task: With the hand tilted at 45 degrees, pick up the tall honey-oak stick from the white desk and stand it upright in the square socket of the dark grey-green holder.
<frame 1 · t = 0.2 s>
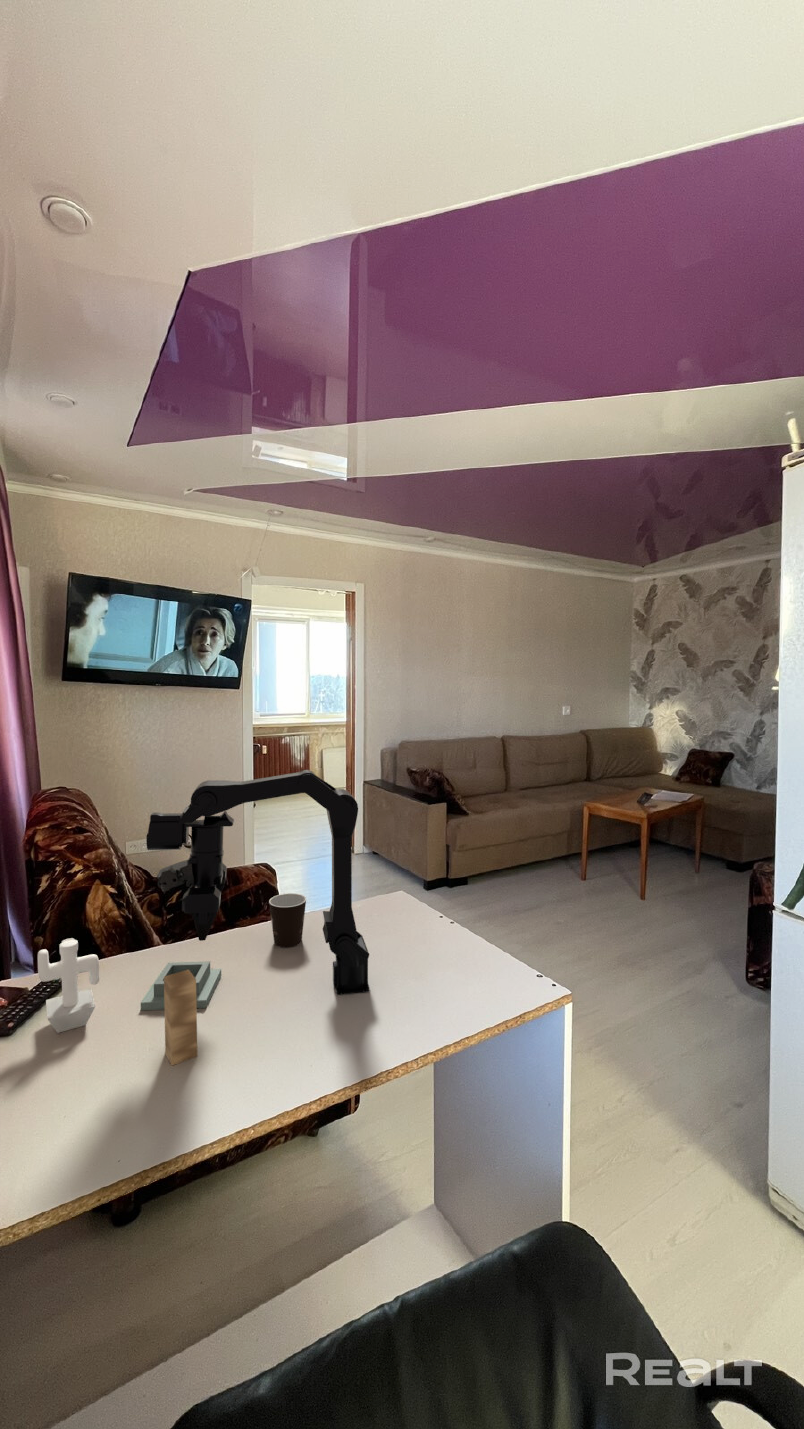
hand: (205, 929, 109), 14 cm above the table, tool pointing down, fingers open, 9 cm apart
brown paper cup: (290, 939, 137), on the table
oak stick: (181, 1054, 95), on the table
socket holder: (183, 991, 114), on the table
figurine: (71, 1023, 103), on the table
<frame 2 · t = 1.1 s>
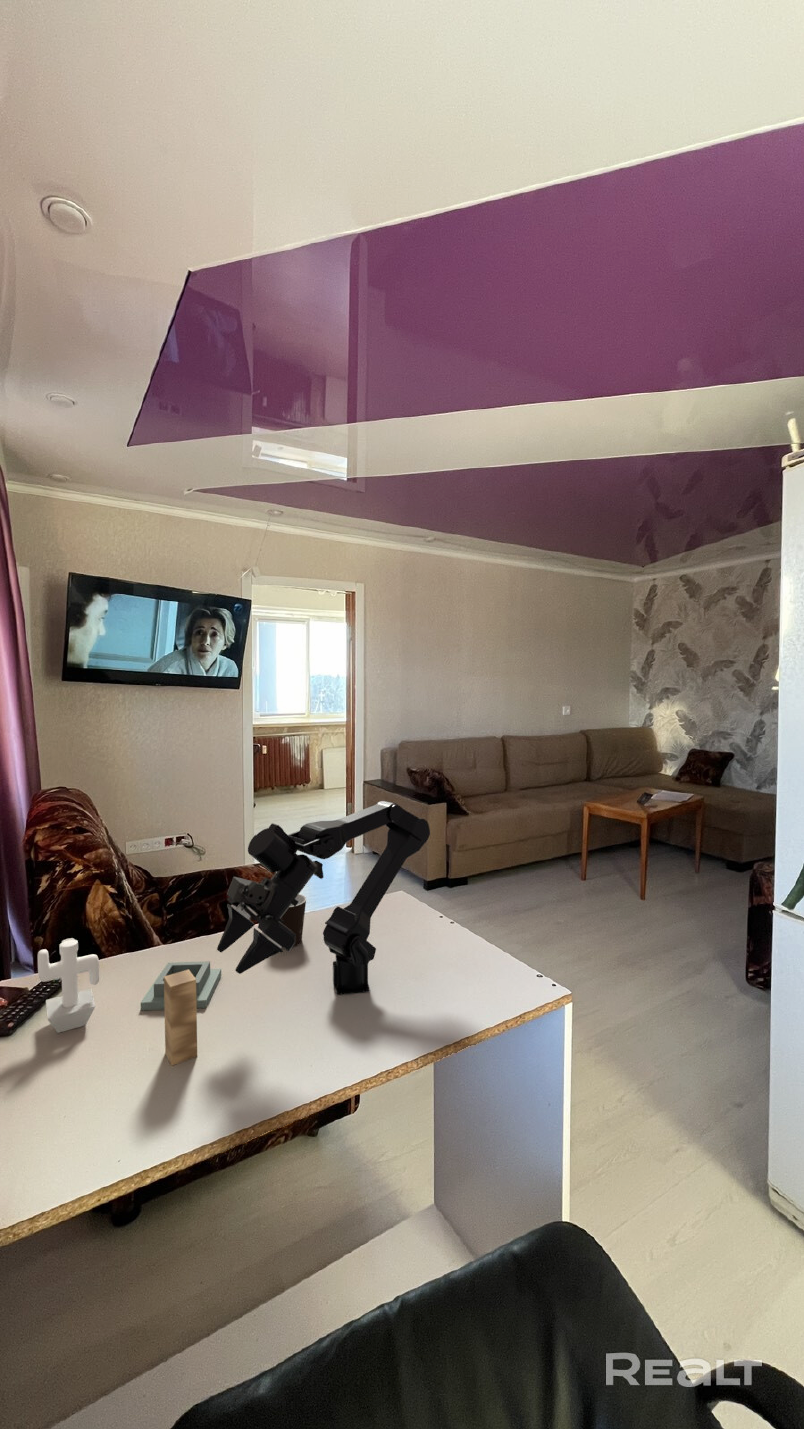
hand: (227, 961, 99), 13 cm above the table, tool tilted 45°, fingers open, 9 cm apart
nothing on the table moved.
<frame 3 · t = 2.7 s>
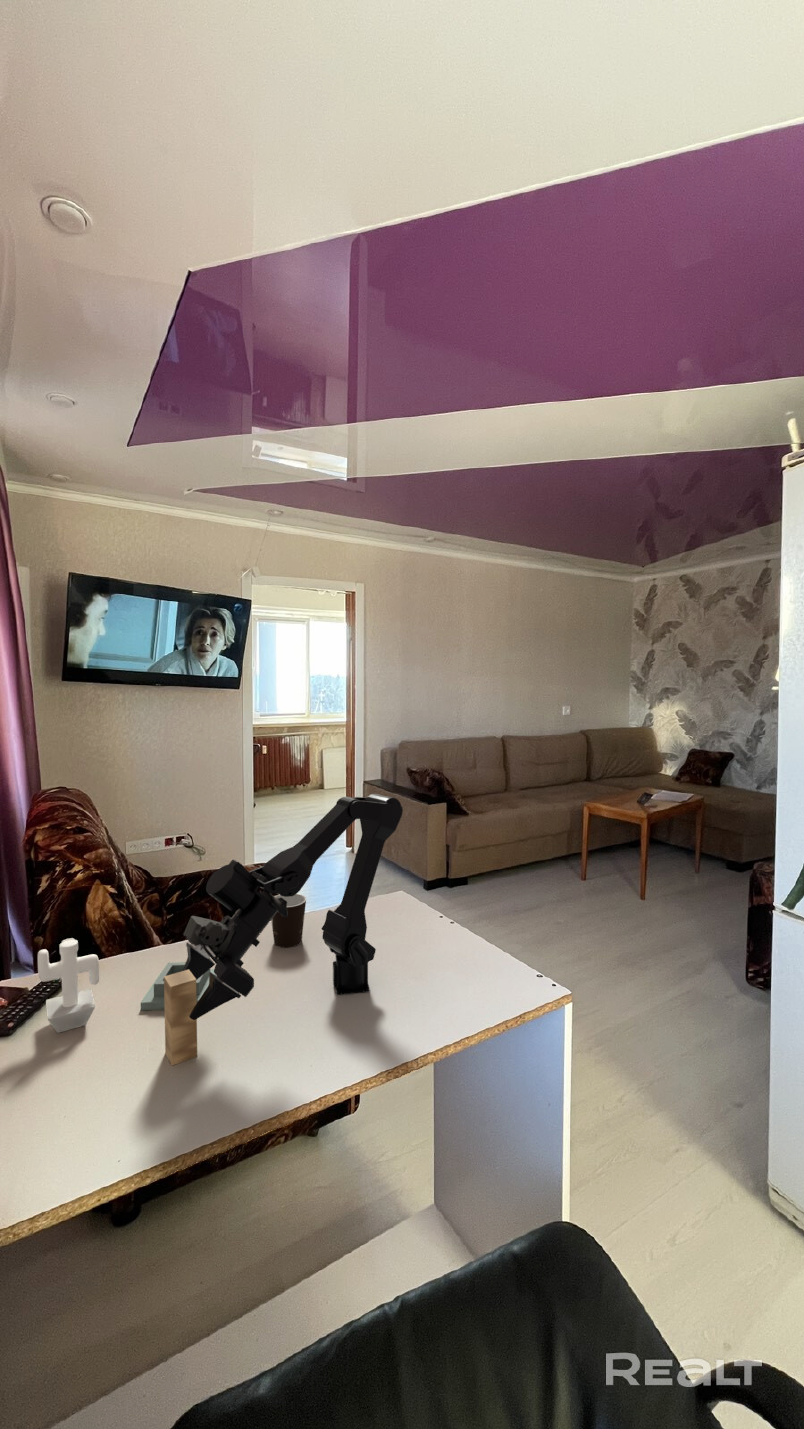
hand: (183, 1005, 94), 8 cm above the table, tool tilted 45°, fingers open, 9 cm apart
nothing on the table moved.
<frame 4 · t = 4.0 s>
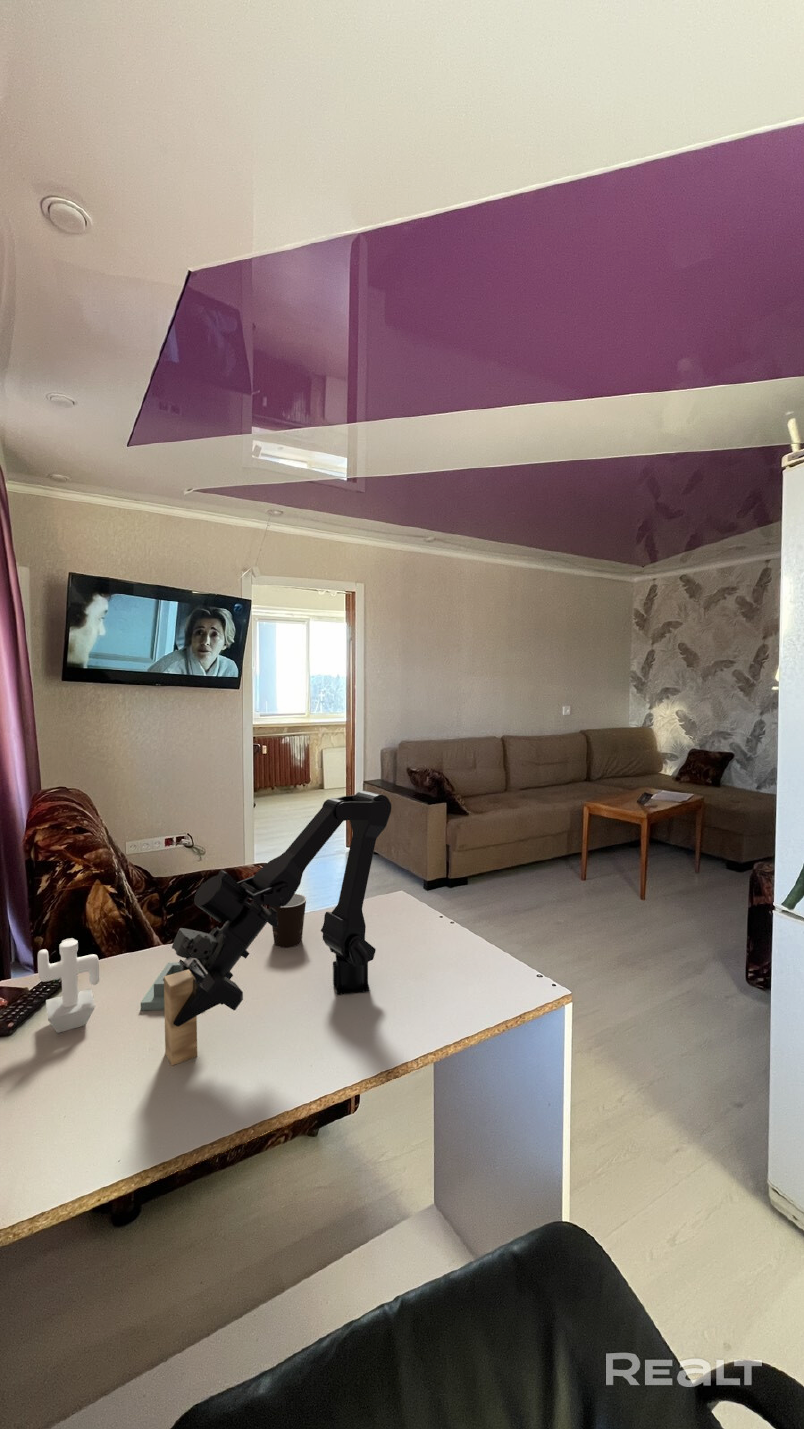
hand: (171, 1018, 93), 7 cm above the table, tool tilted 45°, fingers closed on oak stick, 4 cm apart
oak stick: (181, 1054, 95), on the table, touching gripper
everything else where it was.
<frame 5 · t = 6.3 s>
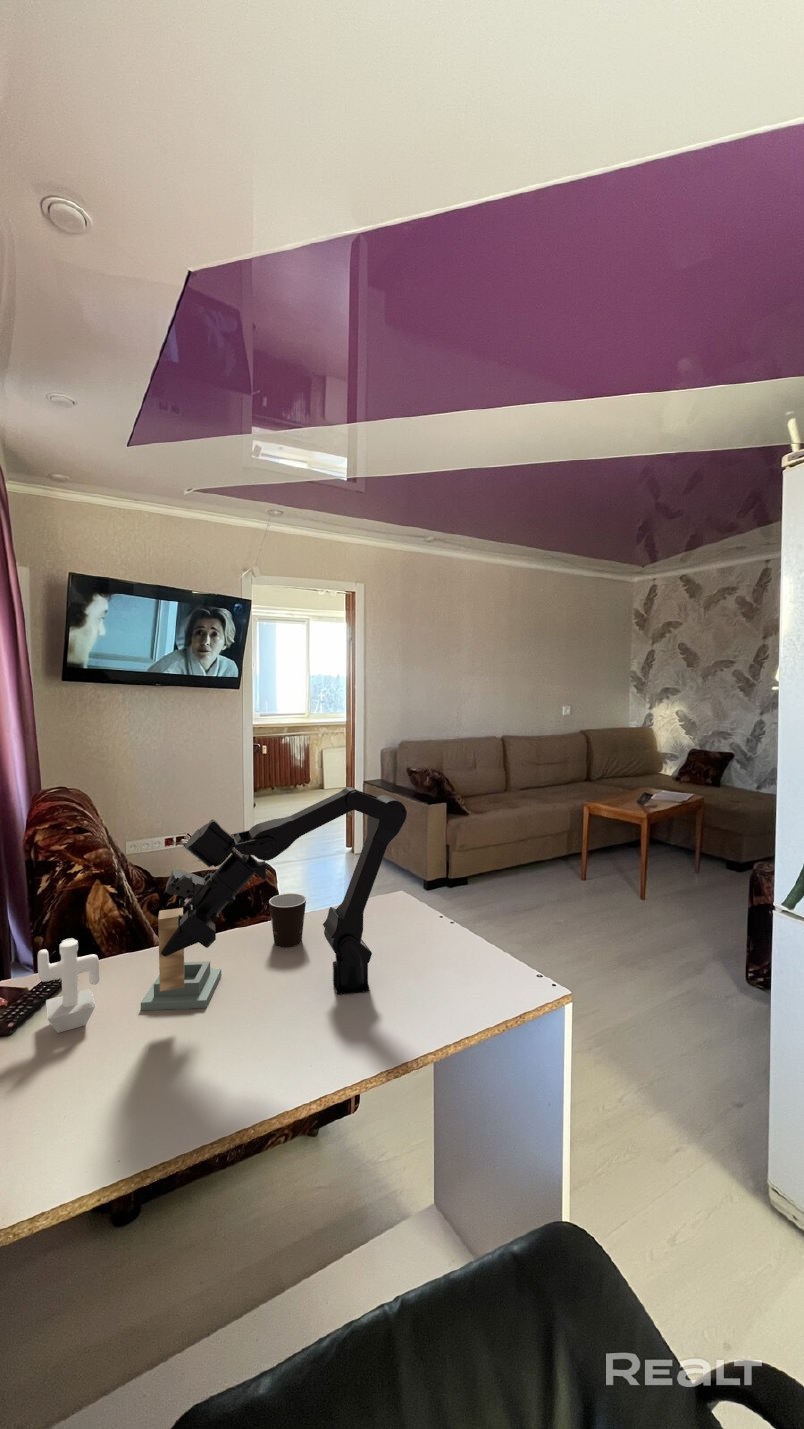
hand: (163, 949, 103), 14 cm above the table, tool tilted 45°, fingers closed on oak stick, 4 cm apart
oak stick: (172, 983, 103), point 7 cm above the table, touching gripper
everything else where it was.
when the fingers open (9 cm above the table, at t = 8.6 s): oak stick stays where it is, resting on socket holder.
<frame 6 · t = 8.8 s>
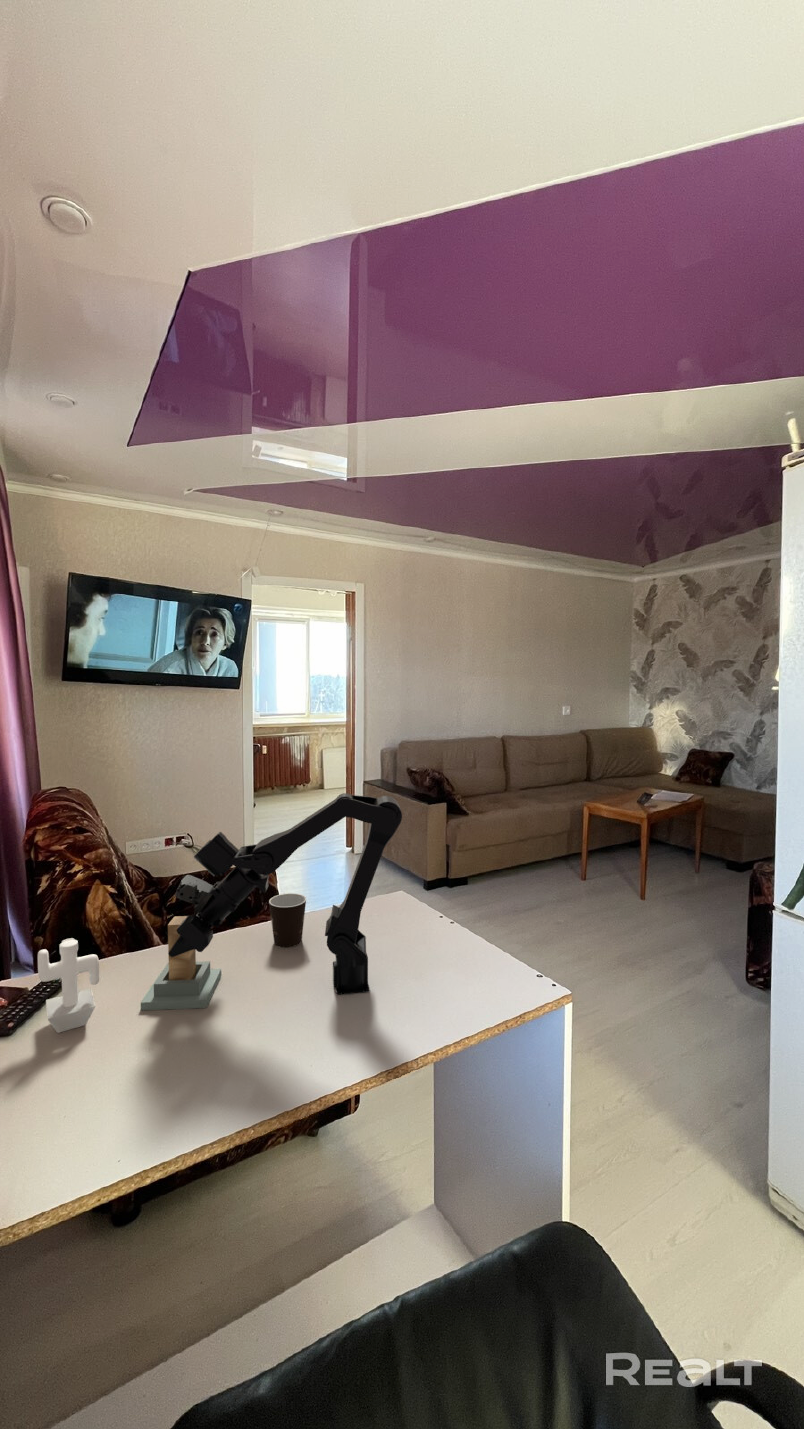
hand: (175, 947, 113), 9 cm above the table, tool tilted 45°, fingers open, 6 cm apart
oak stick: (182, 984, 113), point 2 cm above the table, touching socket holder
everything else where it was.
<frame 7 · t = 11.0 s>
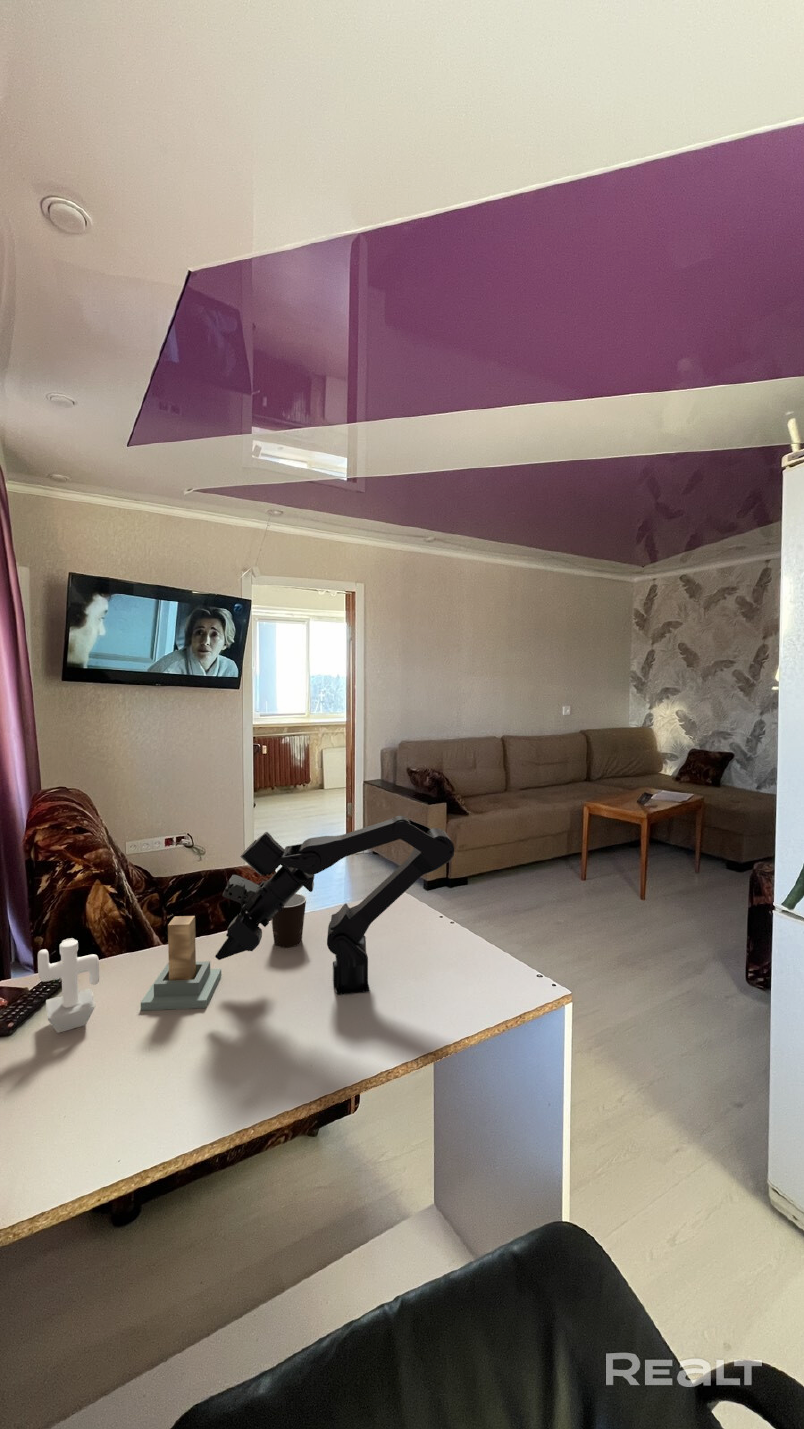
hand: (222, 946, 114), 9 cm above the table, tool tilted 45°, fingers open, 9 cm apart
nothing on the table moved.
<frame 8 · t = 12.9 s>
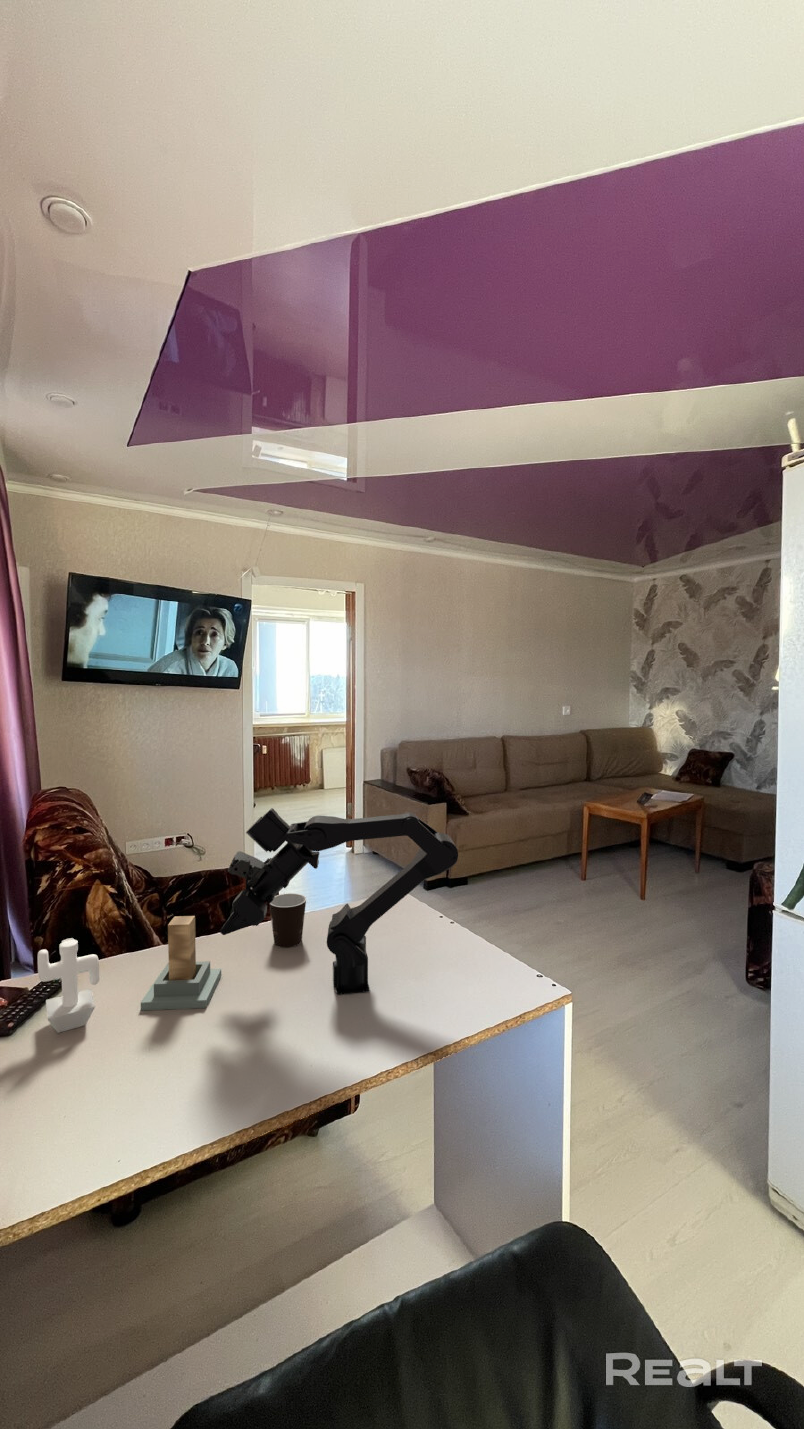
hand: (227, 923, 114), 14 cm above the table, tool tilted 45°, fingers open, 9 cm apart
nothing on the table moved.
at the end: oak stick 0.1 cm off-centre on the socket holder, point 1.5 cm above the socket holder's base; oak stick tilted 0°; the gripper is holding nothing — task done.
